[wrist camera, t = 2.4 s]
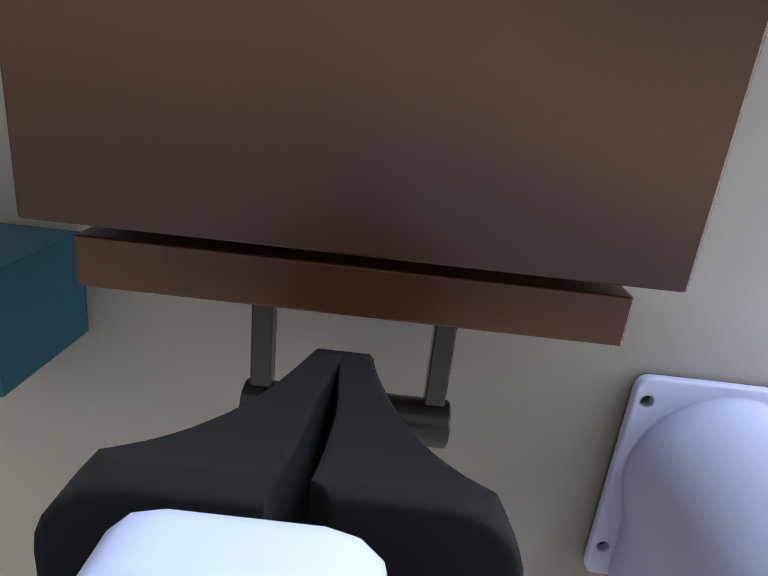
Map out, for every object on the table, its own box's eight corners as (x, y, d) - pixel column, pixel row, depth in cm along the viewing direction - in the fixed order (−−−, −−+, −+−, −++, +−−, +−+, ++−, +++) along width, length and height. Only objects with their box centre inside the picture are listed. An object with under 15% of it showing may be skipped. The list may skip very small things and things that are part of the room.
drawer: (523, 383, 21) (574, 520, 15) (190, 345, 21) (92, 464, 15) (651, -215, 15) (837, -443, 8) (182, -265, 15) (7, -533, 8)
